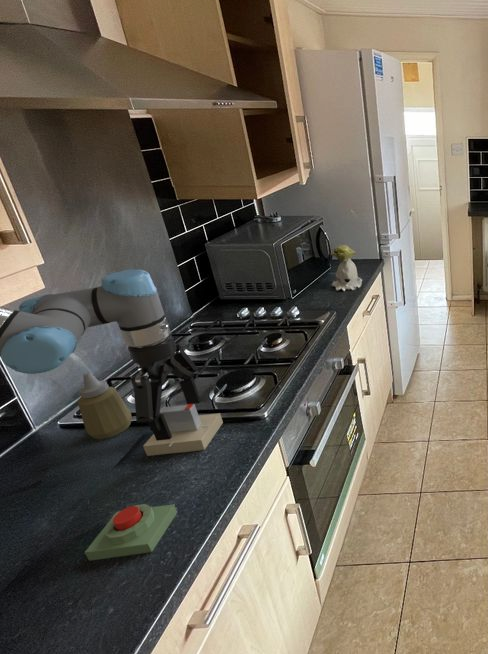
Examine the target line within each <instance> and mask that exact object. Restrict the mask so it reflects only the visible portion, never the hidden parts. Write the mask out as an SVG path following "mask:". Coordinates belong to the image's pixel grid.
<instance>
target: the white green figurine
mask: <svg viewBox="0 0 488 654" xmlns="http://www.w3.org/2000/svg"><path fill="white" fill-rule="evenodd" d="M330 255H331V256H332V257H333V258H336V259H337V260H338V261H339V262H340V263H339V264H338V268H337V269H336V272H335V278H336V279H338V280H334V281H333V282H332V283H331V286H332V287H335V291H340V290H342V291H343V292H345V291H346V290H348V291H350V290H351V291H354V290H357V288H361V286H362V284H363V279H362V278H361V277H359V275H358V270H357V266H356V264H355V263H354V262H353V261H352V259H351V258H353V257H354V256H355V255H356V251H355V250H354V249H352V248H351V247H349V245H346V244H341V245H338V246H334V249H333V252H331V253H330ZM347 280H349V281H348V282H347Z"/></svg>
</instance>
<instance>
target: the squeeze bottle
mask: <svg viewBox="0 0 488 654" xmlns="http://www.w3.org/2000/svg"><path fill="white" fill-rule="evenodd" d="M82 376H83V377H82V378H83V385H82V386H81V387H80V389H79V390H78V393H79V395H80V398H79V399H78V400H77V405H78V409H79V412H80V416H81V419H82V422H83V426H84V429H85V431H86V434H87V435H89V436H90V437H91V438H92V439H94V440H105V439H110V438H113V437H115V436H117V435H119V434H121V433H123V432H124V431H125V430H127V429H128V428H129V427H130V425H131V423H132V413H131V411H130V409H129V408H128V407H127V405H126V403H125V402H124V400H123V398H122V397H121V395H120V394H119V392H118V391H117V389H116V388H115V387H113V386H109V384H108V383H107V381H106V380H104V379H103V380H101V379H100V380H98V379H97V377H95V375H94V374H93V373H92V372H91V371H86V372H84V373H82Z"/></svg>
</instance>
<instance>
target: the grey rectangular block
mask: <svg viewBox="0 0 488 654" xmlns="http://www.w3.org/2000/svg"><path fill="white" fill-rule="evenodd" d="M160 414H163V415H164V417H165V420H166V422H167V425H168V427H169V430H170V433H171V432H181V431H191V430H197V429H198V428H199V427H200V425H201V421H200V418H199V415H200V414H199V412H198V410H197V407H196V403H195V404H183V405H182V404H181V405H173V406H162V407H160Z"/></svg>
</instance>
